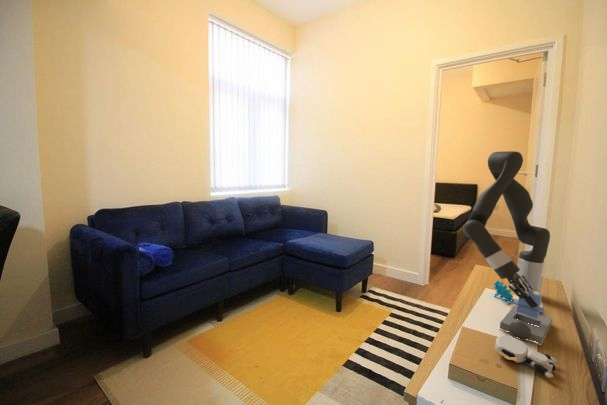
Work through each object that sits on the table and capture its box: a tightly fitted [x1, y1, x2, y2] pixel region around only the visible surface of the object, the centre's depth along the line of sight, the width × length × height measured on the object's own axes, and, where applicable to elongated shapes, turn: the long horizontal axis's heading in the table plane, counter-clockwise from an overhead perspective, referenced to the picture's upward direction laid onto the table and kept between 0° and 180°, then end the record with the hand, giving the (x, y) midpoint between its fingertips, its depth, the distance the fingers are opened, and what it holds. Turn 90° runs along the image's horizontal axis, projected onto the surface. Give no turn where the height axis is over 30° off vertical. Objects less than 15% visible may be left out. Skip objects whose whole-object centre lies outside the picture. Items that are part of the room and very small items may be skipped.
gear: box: [493, 280, 514, 303], centre depth 130 cm, size 11×6×10 cm
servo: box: [512, 290, 546, 318], centre depth 105 cm, size 9×4×9 cm, turn 42°
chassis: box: [499, 304, 553, 346], centre depth 106 cm, size 12×23×6 cm, turn 131°
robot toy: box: [493, 331, 557, 378], centre depth 87 cm, size 12×4×15 cm
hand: (536, 305), depth 104 cm, fingers closed on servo, 4 cm apart
